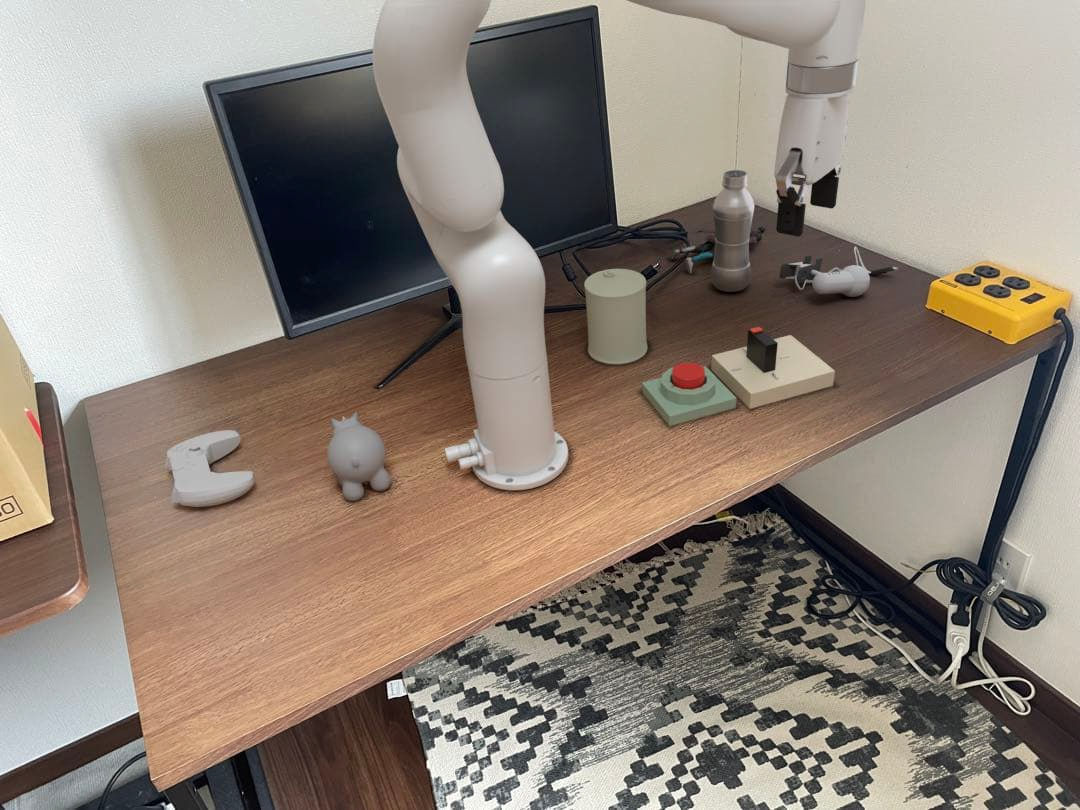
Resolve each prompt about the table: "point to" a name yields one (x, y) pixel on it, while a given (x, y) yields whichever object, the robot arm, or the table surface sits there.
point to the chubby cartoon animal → (357, 457)
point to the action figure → (710, 248)
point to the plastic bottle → (732, 233)
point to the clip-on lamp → (831, 276)
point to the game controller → (206, 470)
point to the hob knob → (761, 349)
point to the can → (616, 316)
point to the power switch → (687, 398)
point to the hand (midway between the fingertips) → (806, 219)
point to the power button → (688, 376)
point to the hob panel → (773, 373)
